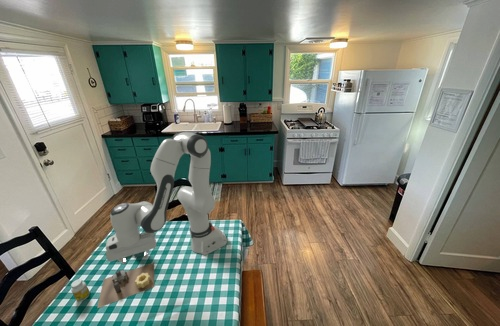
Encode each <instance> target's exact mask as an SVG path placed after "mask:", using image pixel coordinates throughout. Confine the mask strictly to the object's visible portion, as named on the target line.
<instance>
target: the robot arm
mask: <svg viewBox="0 0 500 326" xmlns="http://www.w3.org/2000/svg"><path fill="white" fill-rule="evenodd" d="M185 154H187V155H189V156H190V163H189V171H188V176H187V177H188V181H189V183H190V185H191V186H186V185H185V186H182V187H180V189H179V190H178V192H177V199H178V201H179V202H180V203H181V205H182V207H183V209H184V212H185V213H186V215H187V218H188V222H189V233H190V237H191V242H190V243H191V244H190V249H191V251H192V252H194V253H196V254H201V255H202V256H208V255H209V254H211V253H213V252H215V251H216V250H218V249H221V248H222V247H224V246H226V245H228V244H227V243H228V239H227V236H226V234H225V232H223V230H221V229H220V228H219V227H218V226H216V225H215V226H214V225H213V223H212V222H211V221H210V220H209V214H210V213H211V212H212V211H213V210H214V209H215V207H216V199H215V198H214V196H213V193H212V192H211V187H210V172H211V163H212V160H211V159H212V158H211V157H212V155H211V150H210V148H209V146H208V140H207V139H206V138H205V137H204V136H203V135H201V134H199V133H198V134H197V133H195V132H190V131H179V132H176V133H174V135H173V136H172V137H171V138H166V139H164V140H163V141H162V142H161V144H160V145H159V147H158V148H157V150H156V152H155V154H154V156H153V159H152V160H151V161H152V162H151V163H150V169H149V170H150V173H151V174H150V175H151V176H152V177H153V179H154V181H155V183H156V187H157V188H156V189H157V190H156V194H155V198H154V201H153V204H152V203H151V202H149V201H146V200H142V201H139V202H135V203H129V202H123V203H120V204H117V205H116V206H114V207H113V208H112V210H111V211H110V217H109V219H110V223H111V226H112V229H113V230H114V232H115V234H113V235H112V236H110V237H108V239H107V241H106V242H105V250H106V251H105V257H106V261H107V262H114V261H118V262H120V263H121V264H122V265H126V264H127V262H128V261H127V259H126V257H130V256H133V255H134V254H137V253H140V252H144V251H145V252H144V254H143V256H144V258H148V257H149V253H150V250H152V249H156V247H157V246H158V245H157V240H156V234H155V233H156V232H158V231H160V230H162V229H163V227H165V224H166V222H167V212H168V207H169V204H170V201H171V197H172V193H173V190H174V185H175V174H176V170H177V167H178V165H179V161H180V159H181V158H182V156H183V155H185ZM139 227H141V228H142V230H143V232H142V233H140V229H139Z"/></svg>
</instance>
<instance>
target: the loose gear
mask: <svg viewBox="0 0 500 326" xmlns="http://www.w3.org/2000/svg"><path fill="white" fill-rule="evenodd" d="M144 279H145V280H144ZM142 280H143V281H142ZM150 281H151V279H150V275H149V274H148V273H142V274H141V275H139V276H137V279H136V280H135V283H136V286H137V287H138V288H144V287H145V286H146V285H148V284H149V282H150Z"/></svg>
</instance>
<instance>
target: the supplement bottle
mask: <svg viewBox="0 0 500 326" xmlns="http://www.w3.org/2000/svg"><path fill="white" fill-rule="evenodd" d="M70 287H71V289H70V290H71V292H72V295H73V297H74V298H75V300H76V302H83V301H84V300H86V299H87V298H89V296H90V294H91V292H90V289H89V287H88V285H87V283H86V282H85V281H83V280H82V278H78V279H76V280H74V281H72V283H71V284H70Z"/></svg>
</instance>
